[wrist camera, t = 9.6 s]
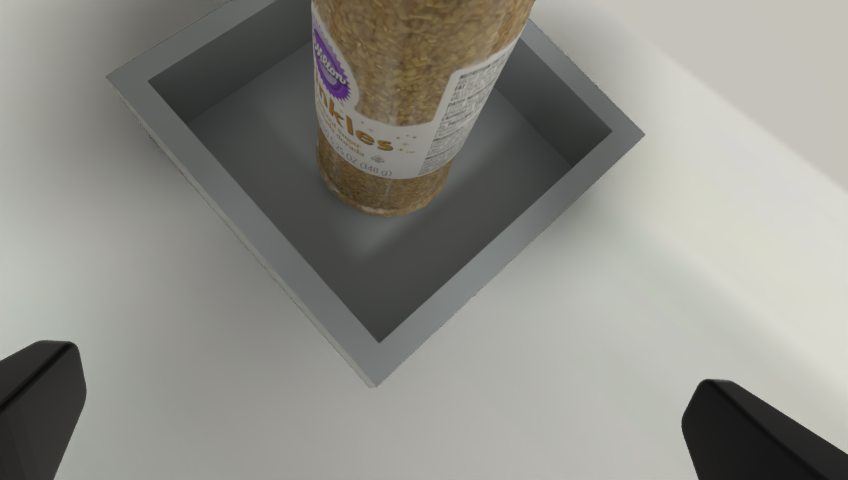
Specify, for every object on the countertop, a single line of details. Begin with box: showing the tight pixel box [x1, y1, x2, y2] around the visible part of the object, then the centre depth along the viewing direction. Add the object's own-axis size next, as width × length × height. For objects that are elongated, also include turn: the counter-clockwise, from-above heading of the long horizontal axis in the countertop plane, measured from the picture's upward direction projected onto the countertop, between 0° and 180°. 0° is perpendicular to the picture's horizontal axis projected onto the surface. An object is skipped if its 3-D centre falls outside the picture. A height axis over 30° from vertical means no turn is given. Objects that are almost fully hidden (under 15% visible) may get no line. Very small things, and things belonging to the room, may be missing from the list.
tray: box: [106, 0, 645, 388], centre depth 17 cm, size 11×11×4 cm
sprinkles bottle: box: [311, 0, 535, 217], centre depth 12 cm, size 5×5×14 cm
